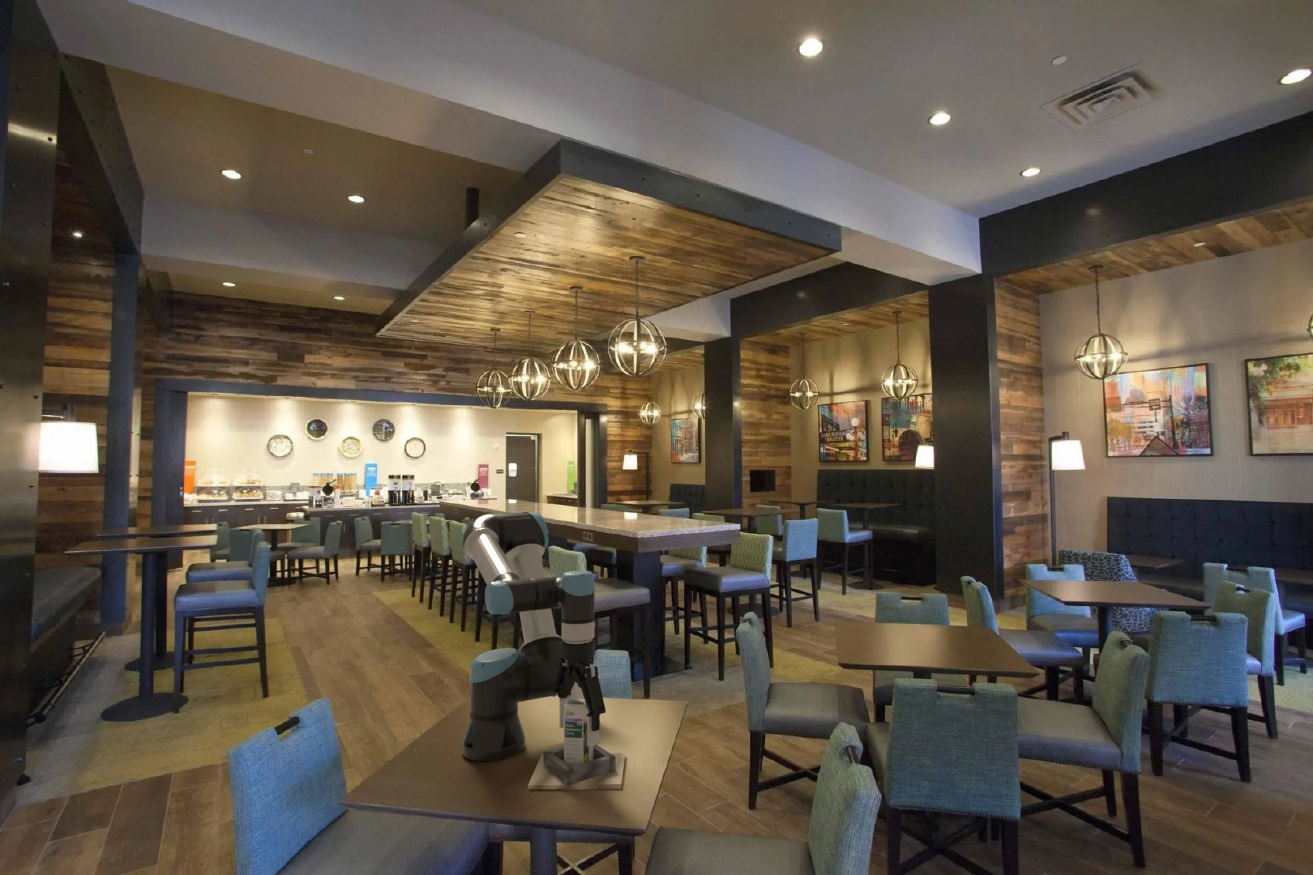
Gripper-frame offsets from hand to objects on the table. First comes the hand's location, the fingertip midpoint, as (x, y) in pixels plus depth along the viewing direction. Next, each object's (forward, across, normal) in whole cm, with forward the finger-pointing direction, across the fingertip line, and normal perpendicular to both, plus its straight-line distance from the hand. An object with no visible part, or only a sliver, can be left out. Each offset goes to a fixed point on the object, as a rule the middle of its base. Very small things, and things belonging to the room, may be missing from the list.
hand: (579, 735), depth 145 cm
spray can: (+8, +34, -16) cm, 38 cm away
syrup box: (+7, 0, 0) cm, 7 cm away
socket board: (+8, 0, 0) cm, 8 cm away
